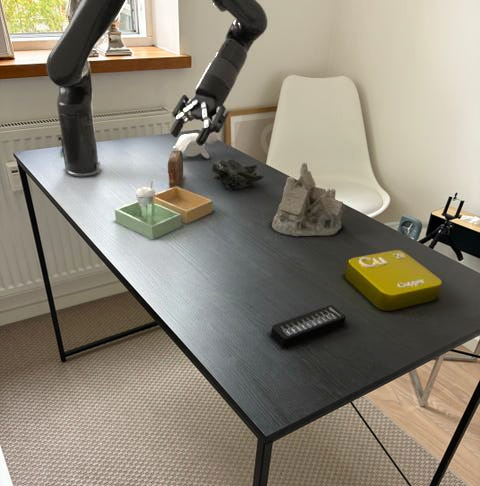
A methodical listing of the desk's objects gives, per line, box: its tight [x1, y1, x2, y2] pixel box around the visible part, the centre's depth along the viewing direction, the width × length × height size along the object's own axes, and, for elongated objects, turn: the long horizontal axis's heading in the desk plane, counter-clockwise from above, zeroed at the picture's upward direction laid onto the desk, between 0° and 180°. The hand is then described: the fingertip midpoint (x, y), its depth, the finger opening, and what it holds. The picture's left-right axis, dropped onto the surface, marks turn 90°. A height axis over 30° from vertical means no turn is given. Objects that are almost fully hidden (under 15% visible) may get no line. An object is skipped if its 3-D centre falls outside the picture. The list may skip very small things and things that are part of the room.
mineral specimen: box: [210, 158, 264, 191], centre depth 143 cm, size 15×13×10 cm
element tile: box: [344, 249, 443, 312], centre depth 104 cm, size 15×15×5 cm
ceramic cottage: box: [271, 162, 346, 237], centre depth 122 cm, size 16×16×15 cm
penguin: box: [172, 132, 219, 160], centre depth 162 cm, size 9×8×15 cm
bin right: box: [155, 186, 213, 224], centre depth 129 cm, size 13×10×3 cm
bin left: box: [114, 200, 182, 240], centre depth 121 cm, size 13×10×3 cm
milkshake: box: [135, 180, 156, 225], centre depth 119 cm, size 4×5×10 cm
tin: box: [167, 149, 184, 189], centre depth 142 cm, size 15×3×8 cm, turn 179°
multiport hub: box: [270, 304, 347, 349], centre depth 91 cm, size 4×14×2 cm, turn 122°
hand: (185, 139), depth 120 cm, fingers open, 8 cm apart
